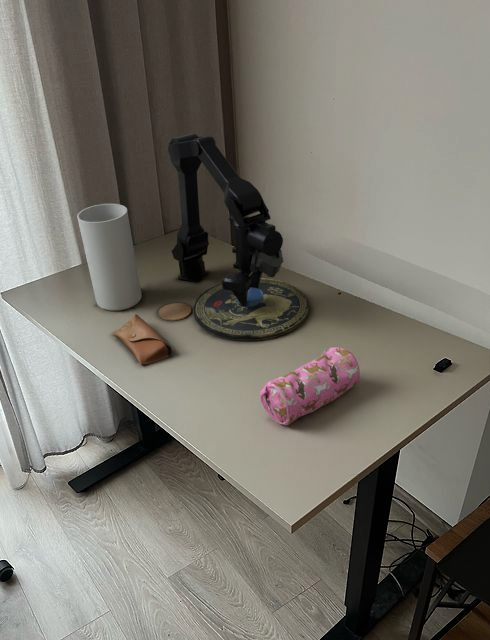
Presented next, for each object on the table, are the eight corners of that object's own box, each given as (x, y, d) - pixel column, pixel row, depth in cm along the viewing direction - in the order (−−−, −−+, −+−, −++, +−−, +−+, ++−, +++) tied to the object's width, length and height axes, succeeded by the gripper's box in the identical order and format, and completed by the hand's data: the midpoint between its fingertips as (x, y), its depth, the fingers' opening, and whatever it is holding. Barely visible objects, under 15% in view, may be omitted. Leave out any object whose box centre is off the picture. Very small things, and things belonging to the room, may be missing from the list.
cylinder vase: (105, 289, 172) (87, 203, 157) (147, 289, 170) (132, 203, 155) (90, 311, 162) (69, 222, 147) (135, 312, 160) (118, 222, 145)
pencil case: (329, 371, 133) (331, 337, 128) (362, 390, 127) (365, 355, 122) (256, 414, 123) (255, 379, 118) (287, 436, 117) (287, 400, 112)
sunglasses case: (109, 333, 151) (118, 309, 149) (133, 337, 156) (142, 314, 154) (141, 366, 139) (150, 340, 137) (166, 369, 143) (175, 344, 141)
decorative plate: (168, 314, 154) (237, 267, 172) (169, 321, 155) (237, 273, 174) (266, 349, 139) (330, 293, 157) (266, 355, 140) (329, 300, 158)
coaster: (152, 317, 157) (152, 316, 157) (168, 302, 163) (168, 300, 163) (181, 323, 154) (181, 321, 154) (196, 307, 160) (196, 305, 160)
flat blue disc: (231, 306, 153) (231, 298, 151) (242, 293, 158) (242, 285, 156) (257, 311, 150) (257, 302, 149) (267, 297, 155) (267, 289, 154)
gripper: (263, 263, 135) (265, 322, 144) (291, 230, 148) (291, 287, 157) (218, 257, 139) (223, 315, 148) (249, 226, 152) (252, 281, 161)
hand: (249, 299), depth 154 cm, fingers closed on flat blue disc, 7 cm apart
